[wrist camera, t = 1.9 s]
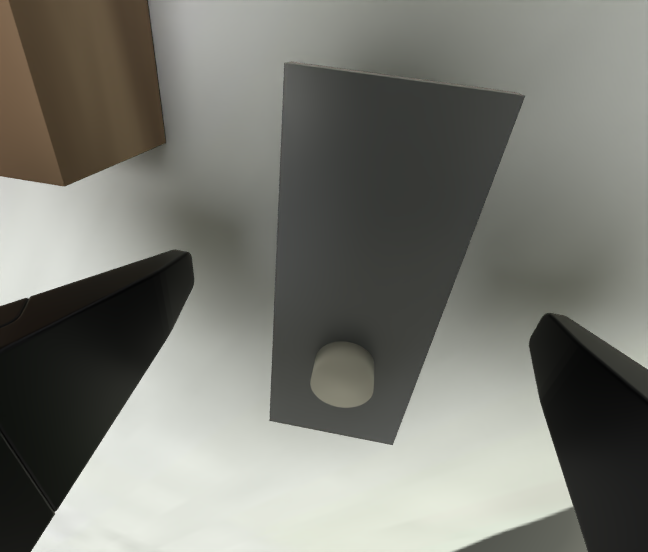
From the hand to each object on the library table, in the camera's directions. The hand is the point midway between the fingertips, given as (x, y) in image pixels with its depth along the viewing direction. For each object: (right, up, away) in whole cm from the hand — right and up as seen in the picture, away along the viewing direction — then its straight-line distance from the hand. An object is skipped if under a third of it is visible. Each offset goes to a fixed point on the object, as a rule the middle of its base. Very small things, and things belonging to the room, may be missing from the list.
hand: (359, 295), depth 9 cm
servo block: (+1, +2, +4) cm, 4 cm away
